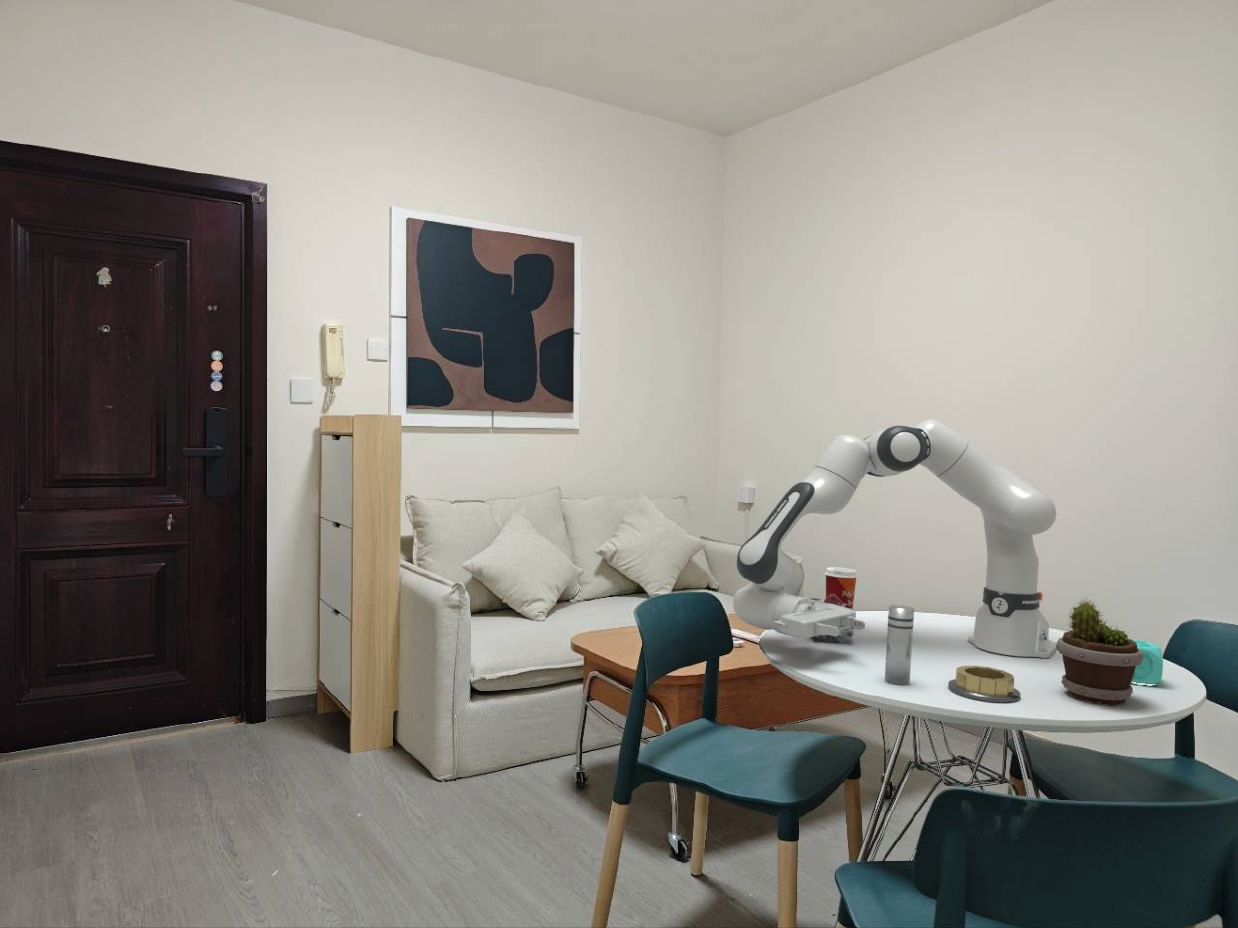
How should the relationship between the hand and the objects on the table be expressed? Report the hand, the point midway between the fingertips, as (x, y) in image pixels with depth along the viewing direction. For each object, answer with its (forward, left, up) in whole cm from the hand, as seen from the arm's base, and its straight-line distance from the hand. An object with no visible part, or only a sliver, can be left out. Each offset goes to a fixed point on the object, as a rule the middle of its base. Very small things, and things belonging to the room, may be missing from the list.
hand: (851, 628), depth 180 cm
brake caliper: (-19, -17, -9) cm, 27 cm away
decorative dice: (-45, +41, -9) cm, 61 cm away
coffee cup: (-32, -23, -9) cm, 40 cm away
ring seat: (-8, +25, -8) cm, 28 cm away
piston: (0, +11, -8) cm, 14 cm away
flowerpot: (-24, +40, -9) cm, 47 cm away
